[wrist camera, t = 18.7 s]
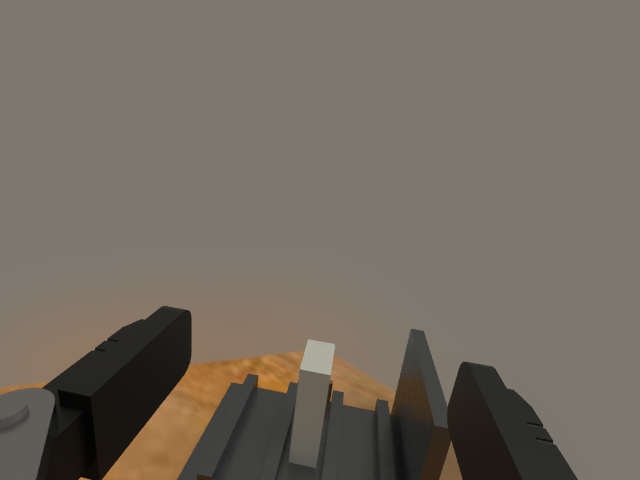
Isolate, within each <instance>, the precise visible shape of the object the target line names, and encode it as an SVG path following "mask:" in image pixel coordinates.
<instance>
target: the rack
mask: <svg viewBox="0 0 640 480" xmlns="http://www.w3.org/2000/svg"><path fill="white" fill-rule="evenodd" d="M332 385H333V381H332V380H330V382H329V388H328V395H327V401H326V408H325V414H324V421H323V427H322V433H321V440H320V446H319V453H318V459H317V465H316V468H313V467H308V466H304V465H299V464H295V463H290V462H289V454H290V446H291V438H292V429H293V421H294V413H295V404H296V396H297V388H298V383H293V382H290V384H289V387H288V390H287V393H282V392H277V391H272V390H267V389H262V388H257V387H258V375H253V374H248V375H247V377H246V379H245V381H244V383H243V385H242V384H237V383H231V385H230V387H229V388H228V390H227V392H226V394H225V396H224V397H223V399H222V401H221V403H220V404H219V406H218V408H217V410H216V412H215V413H214V415H213V417H212V419H211V420H210V422H209V424H208V426H207V428H206V429H205V431H204V433H203V435H202V436H201V438H200V440H199V442H198V444H197V445H196V447H195V449H194V451H193V452H192V454H191V456H190V458H189V460H188V461H187V463H186V465H185V467H184V468H183V470H182V472H181V474H180V476H179V477H178V479H177V480H439V478H440V475H441V471H442V468H443V465H444V462H445V459H446V455H447V452H448V449H449V446H450V443H451V437H450V434H449V430H448V424H447V410H448V407H447V404H446V401H445V398H444V394H443V391H442V388H441V385H440V382H439V379H438V376H437V372H436V369H435V366H434V363H433V360H432V356H431V353H430V350H429V347H428V344H427V340H426V337H425V334H424V331H420V330H414V329H411V331H410V335H409V339H408V344H407V348H406V352H405V356H404V361H403V365H402V369H401V374H400V378H399V382H398V386H397V391H396V395H395V399H394V404H393V408H392V412H391V415H390V414H389V407H388V401H384V400H379V399H377V402H376V407H375V411H371V410H366V409H361V408H356V407H351V406H346V405H343V394H344V392H339V391H334V390H333V394H332V401H331V402H330V397H331V391H332Z"/></svg>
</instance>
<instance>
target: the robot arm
mask: <svg viewBox="0 0 640 480" xmlns="http://www.w3.org/2000/svg"><path fill="white" fill-rule="evenodd" d="M190 360H191V313H190V311H189V310H184V309H179V308H173V307H168V306H163V307H161V308H159V309H158V310H157V311H156V312H154V313H153V314H152V315H150V316H149V317H148V318H147V319H145V320H143V319H141V320H139V321H136V322H134V323H132V324H129V325H127V326H125V327H122V328H121V329H120V330H118V331H117V332H116V333H115V334H113V335H112V336H111V337H109V338H108V340H107V341H104V342H102V343H101V344H100V345H99V346H97V347H96V348H95V350H94V351H91V352H89V353H88V354H87V355H85V356H84V357H83V358H81V359H80V360H79V361H77V362H76V363H75V364H73V365H72V366H71V367H69V368H68V369H67V370H65V371H64V372H63V373H61V374H60V375H59V376H57V377H56V378H55V379H53V380H52V381H51V382H49V383H48V384H47V385H45V386H44V387H43V388H25V389H19V390H15V391H11V392H8V393H5V394H2V395H0V480H78V479H79V478H80V477H83V478H87V479H91V480H102V479H103V477H104V476H105V475H106V474H107V472H108V471H109V470H110V469H111V467H112V466H113V465H114V463H115V462H116V461H117V460H118V458H119V457H120V456H121V455H122V453H123V452H124V451H125V450H126V448H127V447H128V446H129V444H130V443H131V442H132V441H133V439H134V438H135V437H136V436H137V434H138V433H139V432H140V430H141V429H142V428H143V427H144V425H145V424H146V423H147V422H148V420H149V419H150V418H151V417H152V415H153V414H154V413H155V411H156V410H157V409H158V408H159V406H160V405H161V404H162V403H163V401H164V400H165V399H166V397H167V396H168V395H169V394H170V392H171V391H172V390H173V389H174V387H175V386H176V385H177V383H178V382H179V381H180V380H181V378H182V377H183V376H184V374H185V373H186V371H187V369H188V366H189V364H190ZM447 424H448V430H449V434H450V437H451V441H452V444H453V448H454V451H455V454H456V458H457V461H458V465H459V468H460V472H461V475H462V478H463V480H578V479H577V478H576V476H575V475H574V473H573V471H572V470H571V468H570V467H569V465H568V463H567V462H566V460H565V459H564V457H563V456H562V454H561V452H560V451H559V450H558V448H557V446H556V445H554V444H553V440H552V438H551V437H550V435H549V433H548V432H547V430H546V429H544V428H543V424H542V422H541V421H540V419H539V418H538V416H537V415H536V413H535V411H534V410H533V408H532V407H531V406H530V405H529V404H528V403H527V402H526V401H525V400H524V399H523V398H522V397H521V396H520V395H518V394H517V393H516V392H515V391H514V390H511V389H507V388H506V386H505V385H504V383H503V381H502V380H501V378H500V376H499V375H498V373H497V371H496V369H495V368H494V367H491V366H486V365H481V364H475V363H470V362H463V363H462V364H461V365H460V368H459V371H458V374H457V377H456V381H455V385H454V388H453V391H452V395H451V398H450V401H449V404H448V410H447Z"/></svg>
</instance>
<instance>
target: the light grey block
mask: <svg viewBox="0 0 640 480" xmlns="http://www.w3.org/2000/svg"><path fill="white" fill-rule="evenodd" d="M334 349H335V344H331V343H325V342H320V341H314V340H308V343H307V346H306V349H305V353H304V356H303V360H302V363H301V367H300V371H299V380H298V388H297V396H296V404H295V413H294V421H293V429H292V438H291V446H290V454H289V462H290V463H295V464H299V465H304V466H308V467H313V468H316V465H317V459H318V453H319V446H320V440H321V433H322V427H323V421H324V414H325V408H326V401H327V395H328V388H329V382H330V376H331V369H332V362H333V356H334Z"/></svg>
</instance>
